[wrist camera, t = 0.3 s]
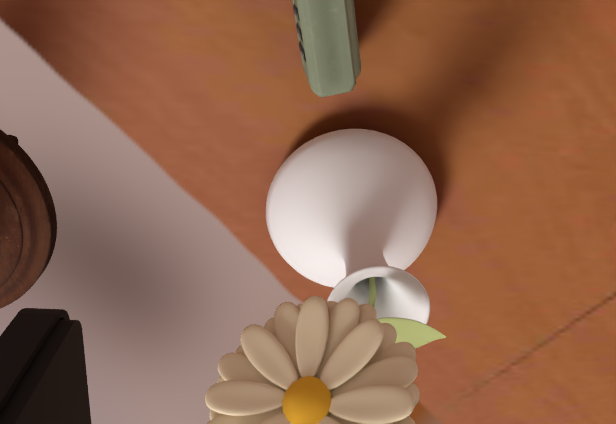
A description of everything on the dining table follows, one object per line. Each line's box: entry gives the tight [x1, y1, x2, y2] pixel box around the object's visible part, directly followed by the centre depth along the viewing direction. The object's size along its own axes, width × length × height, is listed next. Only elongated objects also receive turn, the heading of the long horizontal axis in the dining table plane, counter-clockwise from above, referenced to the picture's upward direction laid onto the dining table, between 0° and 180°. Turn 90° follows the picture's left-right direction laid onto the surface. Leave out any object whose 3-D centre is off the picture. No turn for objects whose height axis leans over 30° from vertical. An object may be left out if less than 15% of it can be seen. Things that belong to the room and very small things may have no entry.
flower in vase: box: [205, 129, 447, 424], centre depth 29 cm, size 13×11×25 cm
